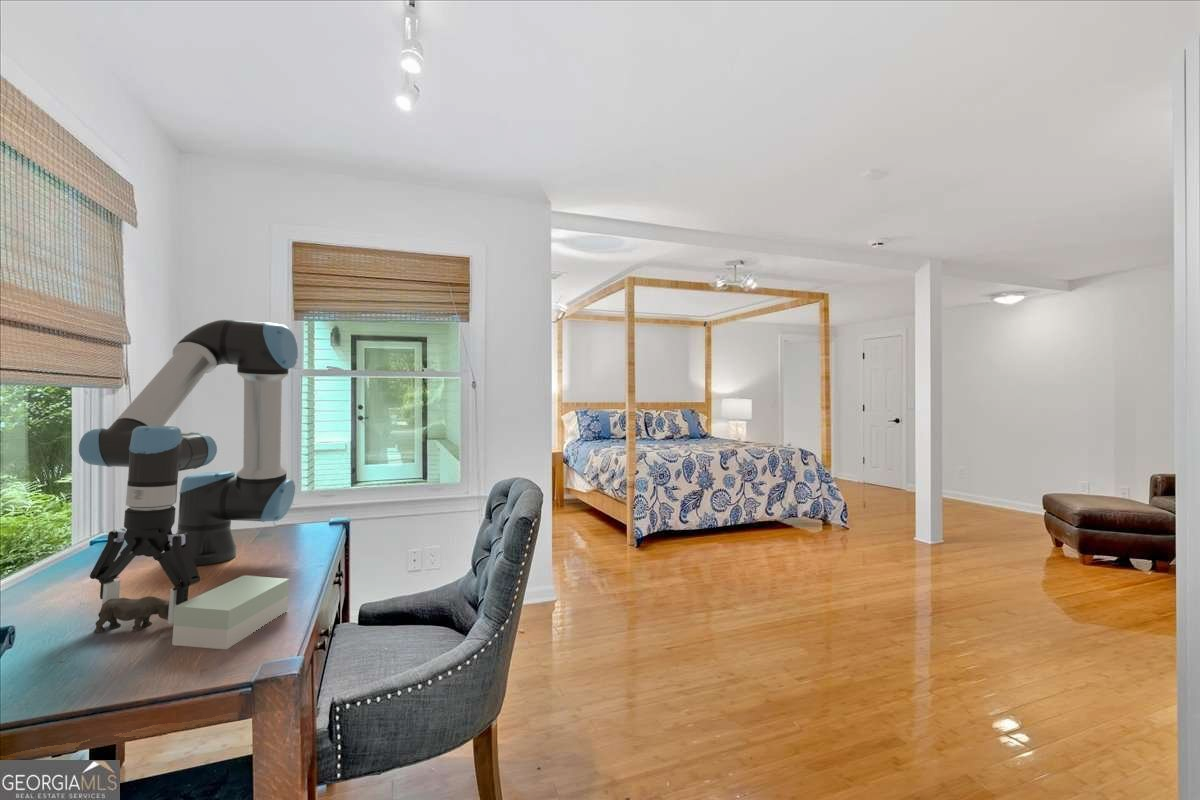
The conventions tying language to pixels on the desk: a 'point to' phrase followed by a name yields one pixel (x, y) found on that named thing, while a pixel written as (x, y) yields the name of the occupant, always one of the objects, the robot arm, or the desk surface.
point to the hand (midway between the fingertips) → (142, 618)
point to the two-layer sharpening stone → (229, 612)
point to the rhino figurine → (131, 612)
